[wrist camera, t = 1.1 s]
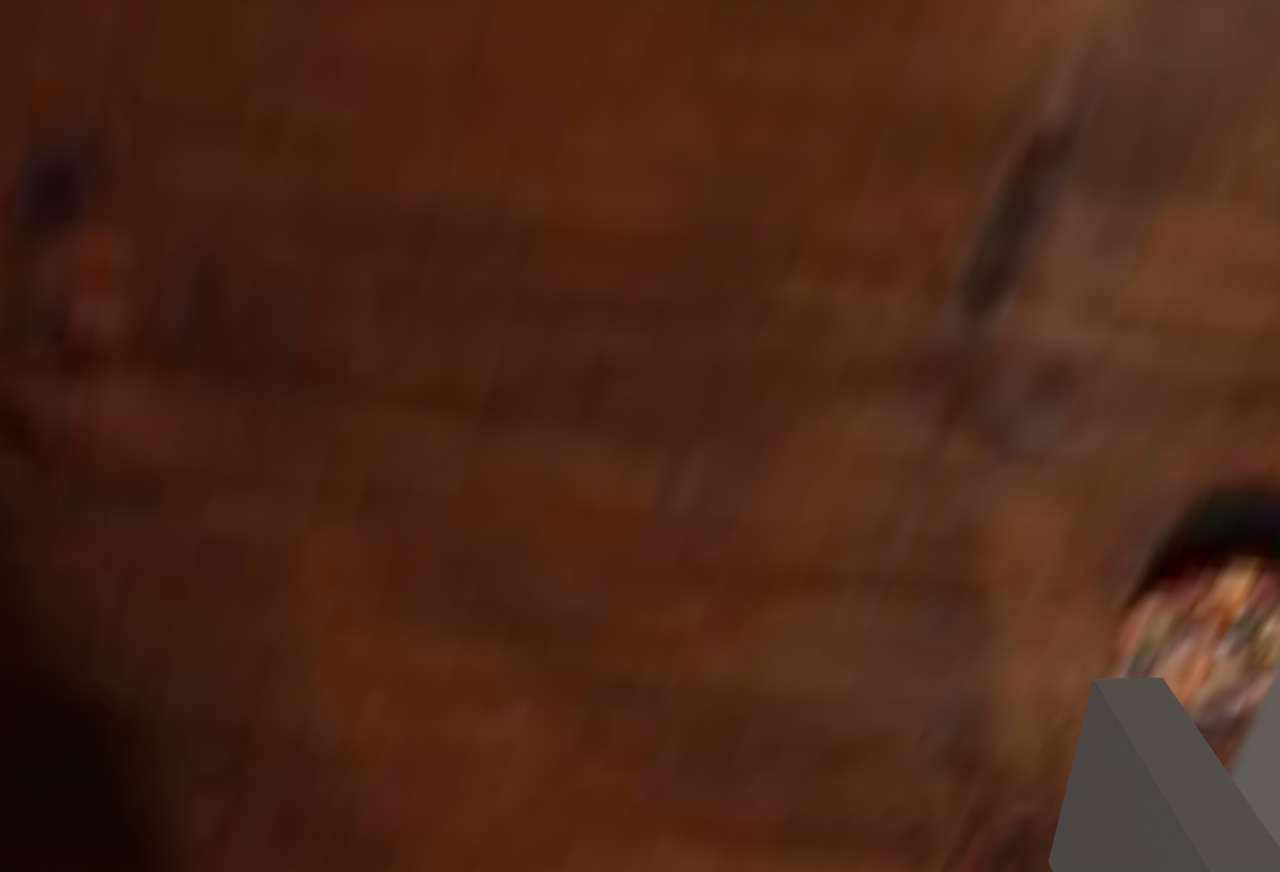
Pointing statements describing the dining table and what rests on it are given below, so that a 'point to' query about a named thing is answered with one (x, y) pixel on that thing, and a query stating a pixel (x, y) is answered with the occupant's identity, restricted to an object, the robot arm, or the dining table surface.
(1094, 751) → the robot arm
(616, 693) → the dining table surface
